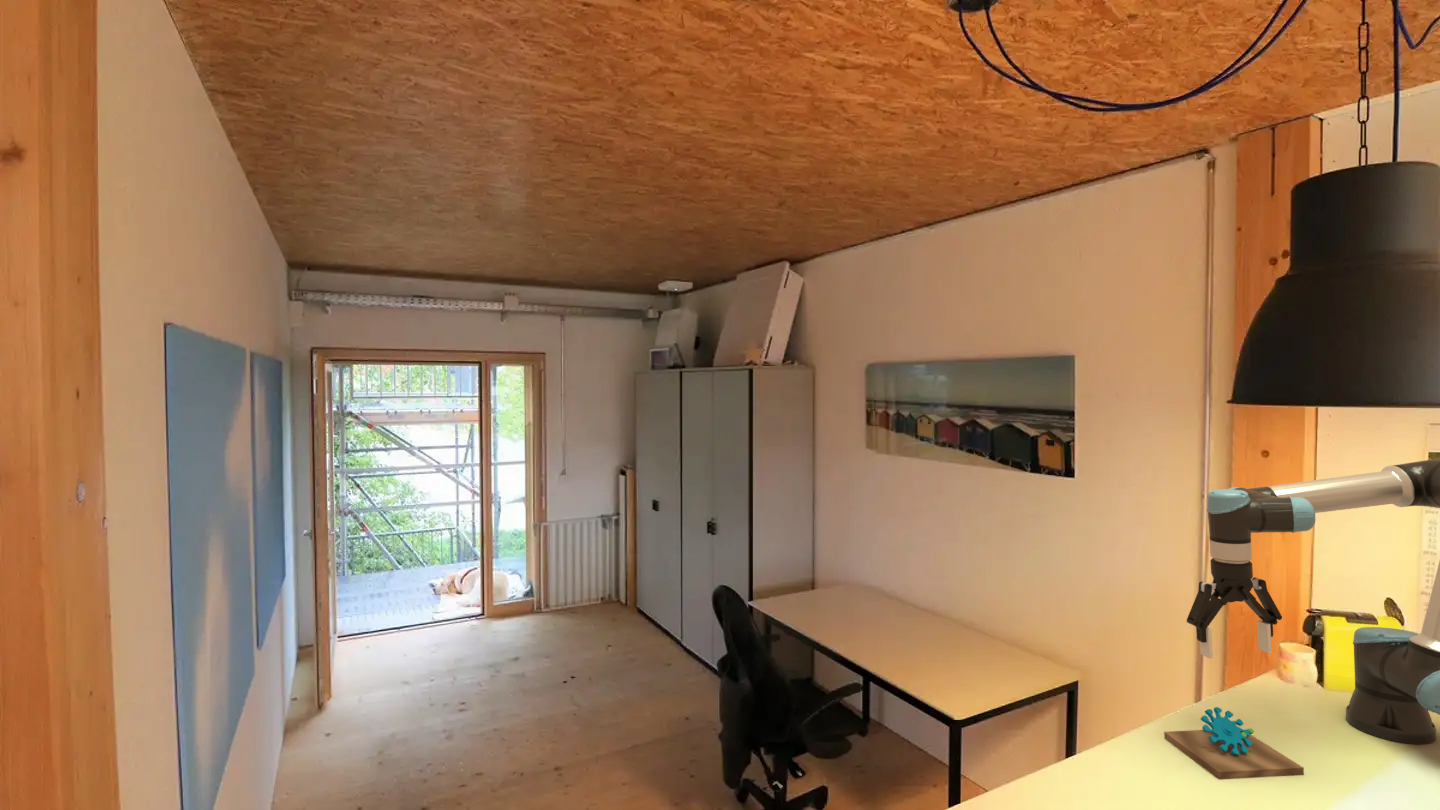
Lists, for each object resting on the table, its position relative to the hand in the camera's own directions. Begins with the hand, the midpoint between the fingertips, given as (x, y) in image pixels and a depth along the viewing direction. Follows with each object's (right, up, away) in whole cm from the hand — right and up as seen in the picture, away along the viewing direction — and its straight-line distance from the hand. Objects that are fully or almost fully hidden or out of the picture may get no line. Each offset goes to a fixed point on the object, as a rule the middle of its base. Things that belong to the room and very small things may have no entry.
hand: (1235, 653), depth 154 cm
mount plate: (-3, -22, -2) cm, 22 cm away
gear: (-3, -20, -2) cm, 21 cm away
